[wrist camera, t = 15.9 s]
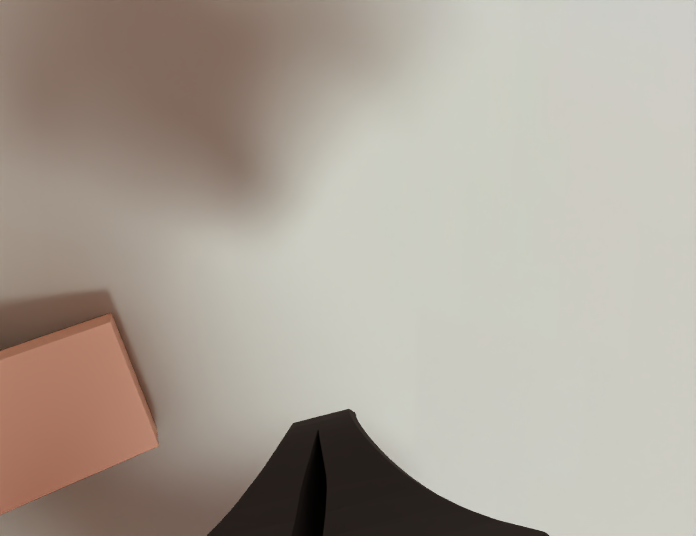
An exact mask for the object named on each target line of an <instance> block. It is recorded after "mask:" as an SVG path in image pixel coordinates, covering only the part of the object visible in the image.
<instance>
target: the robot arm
mask: <svg viewBox="0 0 696 536" xmlns="http://www.w3.org/2000/svg"><path fill="white" fill-rule="evenodd" d="M207 536H549V535H548V534H547V533H545V532H543V531H539V530H535V529H531V528H527V527H523V526H519V525H515V524H511V523H507V522H503V521H499V520H496V519H493V518H490V517H487V516H484V515H482V514H479V513H476V512H473V511H471V510H468V509H466V508H464V507H461V506H459V505H457V504H455V503H453V502H451V501H449V500H447V499H445V498H443V497H441V496H439V495H437V494H436V493H434V492H432V491H431V490H429V489H428V488H426V487H425V486H423V485H422V484H420V483H419V482H417V481H416V480H414V479H413V478H412V477H410V476H409V475H408V474H407V473H405V472H404V471H403V470H402V469H401V468H399V467H398V466H397V465H396V464H395V463H394V462H393V461H392V460H390V459H389V458H388V457H387V456H386V455H385V454H384V453H383V452H382V451H381V450H380V448H379V447H378V446H377V445H376V444H375V443H374V442H373V441H372V440H371V438H370V437H369V436H368V435H367V433H366V432H365V431H364V429H363V428H362V427H361V425H360V423H359V422H358V420H357V418H356V414H355V412H353V411H352V410H350V409H347V410H343V411H339V412H335V413H331V414H327V415H323V416H319V417H315V418H311V419H307V420H303V421H300V422H296V423H293V424H292V426H291V427H290V429H289V430H288V432H287V433H286V435H285V436H284V438H283V439H282V441H281V442H280V444H279V446H278V447H277V449H276V450H275V452H274V453H273V455H272V456H271V458H270V459H269V461H268V462H267V464H266V465H265V467H264V468H263V470H262V471H261V472H260V474H259V475H258V476H257V478H256V479H255V480H254V482H253V483H252V484H251V485H250V487H249V488H248V489H247V491H246V492H245V493H244V494H243V496H242V497H241V498H240V500H239V501H238V502H237V503H236V505H235V506H234V507H233V508H232V509H231V511H230V512H229V513H228V514H227V515H226V516H225V517H224V518H223V519H222V521H221V522H220V523H219V524H218V525H217V526H216V527H215V528H214V529H213V530H212V531H211V532H210V533H209V534H208V535H207Z"/></svg>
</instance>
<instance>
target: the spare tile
mask: <svg viewBox="0 0 696 536" xmlns="http://www.w3.org/2000/svg"><path fill="white" fill-rule="evenodd" d="M158 446H159V443H158V436H157V429H156V426H155V423H154V420H153V418H152V415H151V413H150V410H149V408H148V405H147V403H146V400H145V397H144V395H143V392H142V390H141V387H140V385H139V382H138V380H137V377H136V374H135V372H134V369H133V367H132V364H131V362H130V359H129V357H128V354H127V351H126V349H125V346H124V344H123V341H122V339H121V336H120V334H119V331H118V328H117V326H116V323H115V321H114V318H113V316H112V313H109V314H106V315H103V316H101V317H98V318H95V319H92V320H89V321H86V322H83V323H80V324H77V325H74V326H71V327H68V328H66V329H63V330H60V331H57V332H54V333H51V334H48V335H45V336H42V337H39V338H36V339H33V340H31V341H28V342H25V343H22V344H19V345H16V346H13V347H10V348H7V349H4V350H1V351H0V515H1V514H3V513H6V512H8V511H10V510H12V509H15V508H17V507H19V506H22V505H24V504H26V503H29V502H31V501H33V500H35V499H38V498H40V497H42V496H45V495H47V494H49V493H52V492H54V491H56V490H58V489H61V488H63V487H65V486H68V485H70V484H72V483H75V482H77V481H79V480H82V479H84V478H86V477H88V476H91V475H93V474H95V473H98V472H100V471H102V470H105V469H107V468H109V467H111V466H114V465H116V464H118V463H121V462H123V461H125V460H128V459H130V458H132V457H135V456H137V455H139V454H141V453H144V452H146V451H148V450H151V449H153V448H155V447H158Z"/></svg>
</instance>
